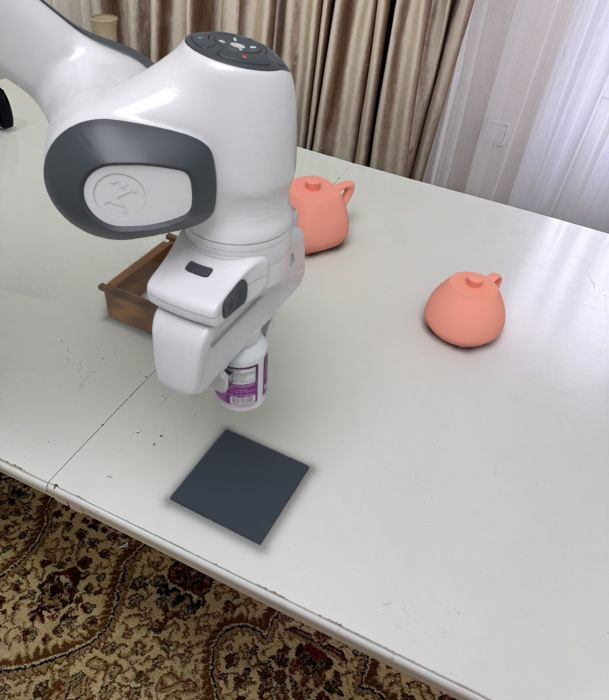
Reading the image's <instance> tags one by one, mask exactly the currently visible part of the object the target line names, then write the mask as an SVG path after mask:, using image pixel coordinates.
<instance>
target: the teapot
mask: <svg viewBox="0 0 609 700" xmlns="http://www.w3.org/2000/svg"><path fill="white" fill-rule="evenodd" d="M355 189H356V184H355V182H354V181H352V180H343V181H341V182H338V183H336V184H334V183H333V182H331V181H329V180H328V179H326V178H324V177H322V176H319V175H316V174H315V175H314V174H312V175H305V176H300V177H299V176H298V177H294V178H293V180H292V183H291V186H290V201H291V205H292V206H293V207H294V208H295V209H296V210H297V211H298V225H297V227H299V228H301V229H302V231H303V234H304V242H305V256H308V255H310V254H312V253H317V252H321V251H325V250H328V249H332V248H335V247H336V246H339V245H340V244H342V243H343V242H344V240H345V239H346V238H347V237H348V234H349V232H350V231H349V229H350V221H349V213H348V209H347V205H348V203H349V202H350V200H351V198H352V196H353V194H354V191H355ZM341 191H343V192H341Z"/></svg>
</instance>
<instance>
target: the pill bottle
mask: <svg viewBox="0 0 609 700" xmlns="http://www.w3.org/2000/svg"><path fill="white" fill-rule="evenodd" d="M268 363H269V342H268V343H267V340H266V338H265V336H264V335H263V334H262V333H261V326H260V327H259V328H258V329H257V330H256V331H255V332H254V333H253V335H252V337H251V339H250V341H249V342H248V343H247V344H246V345H245V346H244V347H243V349H242V350H241V351H240V352H239V353H238V354H237V355H236V356H235V357H234V358H233V359H232V361H231V362H230V363H229V364H228V366H227V368H226V369H227V370H230V371H232V372H233V380H234V382H233V384H232V385H231V386H230V387H229V388H228V389H227V391H226V392H225V393H221V392H219V391H217V390H214V395H215V398H216V400H217V401H218V403H219V404H220V405H221V406H222V407H223V408H225V409H228V410H230V411H233V412H247V411H251V410H253V409H256V408H258V407H259V406H260V405H261V404H262V403H264V401H265V399H266V398H267V394H268V370H269V369H268V365H269V364H268Z"/></svg>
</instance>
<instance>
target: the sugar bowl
mask: <svg viewBox="0 0 609 700" xmlns="http://www.w3.org/2000/svg"><path fill="white" fill-rule="evenodd" d="M502 282H503V277H502V275H501V274H499V273H497V272H490V273H489V274H488V275H485V274H482V273H480V272H475V271H460V272H456V273H453V274H452V275H451V276H449V277H448V278H446V279H445V280H444V281H442V282H441V283H440V284H439V285H437V286H436V287H435V288H434V289H433V291H432V293H430V295H429V297H428V299H427V301H426V302H425V307H424V311H423V312H424V318H425V321H426V323H427V325H428V326H429V328H430V329H431V331H432V332H433V333H434V334H435V335H436V336H437V337H439V338H440V339H442V340H443V341H445V342H447V343H449V344H452V345H454V346H458V347H459V348H464V349H465V348H475V347H479V346H483V345H486V344H489V343H491V342H493V341H494V340H497V338H498V337H499V336H501V334H502V332H503V330H504V327H505V324H506V308H505V307H506V306H505V302H504V299H503V296H502V293H501V290H500V287H501V285H502Z"/></svg>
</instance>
